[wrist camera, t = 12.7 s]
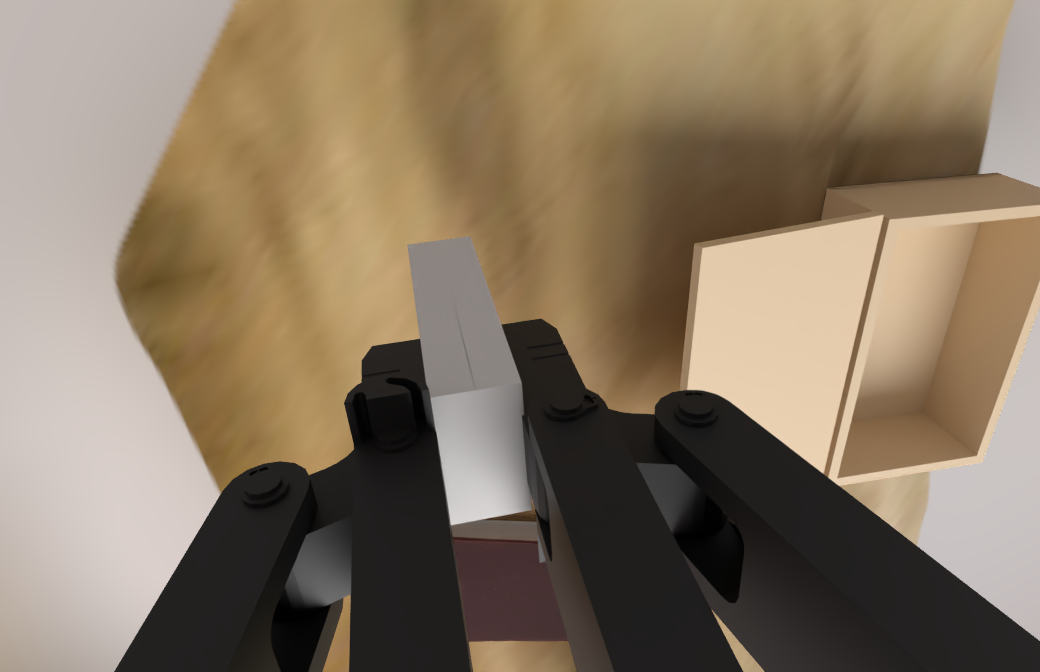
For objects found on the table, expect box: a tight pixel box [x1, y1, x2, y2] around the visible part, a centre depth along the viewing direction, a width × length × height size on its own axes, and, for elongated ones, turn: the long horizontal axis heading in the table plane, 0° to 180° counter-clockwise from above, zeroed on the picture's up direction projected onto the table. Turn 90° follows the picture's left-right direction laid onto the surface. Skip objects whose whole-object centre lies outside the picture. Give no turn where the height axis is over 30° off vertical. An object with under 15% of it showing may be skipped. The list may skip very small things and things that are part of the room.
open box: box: [821, 173, 1040, 486], centre depth 54 cm, size 22×14×7 cm, turn 1°
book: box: [451, 520, 568, 642], centre depth 62 cm, size 12×19×3 cm, turn 77°
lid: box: [680, 211, 884, 474], centre depth 48 cm, size 23×13×1 cm, turn 1°
